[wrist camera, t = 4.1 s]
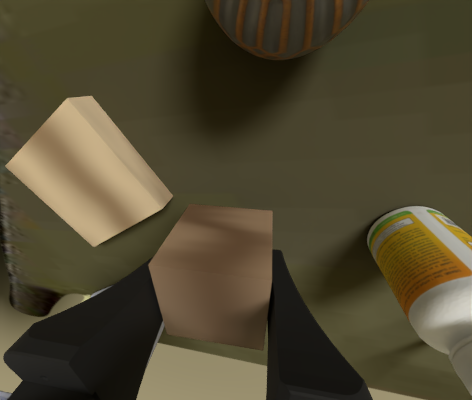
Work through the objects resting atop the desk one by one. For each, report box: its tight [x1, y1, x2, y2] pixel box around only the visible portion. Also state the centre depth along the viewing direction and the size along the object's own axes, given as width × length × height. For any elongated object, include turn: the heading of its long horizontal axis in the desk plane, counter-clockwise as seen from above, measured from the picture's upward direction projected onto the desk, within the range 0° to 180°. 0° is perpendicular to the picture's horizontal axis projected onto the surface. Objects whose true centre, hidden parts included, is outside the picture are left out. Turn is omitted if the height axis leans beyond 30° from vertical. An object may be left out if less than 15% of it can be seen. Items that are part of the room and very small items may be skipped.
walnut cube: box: [148, 204, 273, 350], centre depth 12 cm, size 5×5×5 cm
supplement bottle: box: [367, 206, 472, 396], centre depth 12 cm, size 5×5×10 cm
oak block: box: [5, 96, 173, 247], centre depth 18 cm, size 9×9×2 cm
